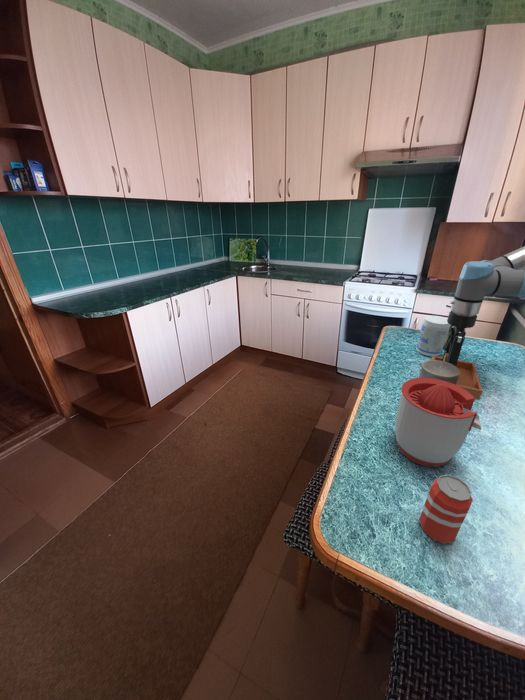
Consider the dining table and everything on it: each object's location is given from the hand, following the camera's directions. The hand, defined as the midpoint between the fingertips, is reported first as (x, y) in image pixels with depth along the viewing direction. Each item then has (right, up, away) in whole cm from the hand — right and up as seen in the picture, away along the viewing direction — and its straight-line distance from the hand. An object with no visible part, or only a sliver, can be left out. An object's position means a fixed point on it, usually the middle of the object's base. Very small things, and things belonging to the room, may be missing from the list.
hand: (444, 373), depth 102 cm
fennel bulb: (+15, +9, +23) cm, 29 cm away
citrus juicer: (-23, -17, -28) cm, 40 cm away
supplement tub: (+6, +7, +20) cm, 22 cm away
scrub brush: (0, -1, +1) cm, 2 cm away
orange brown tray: (+3, -2, +1) cm, 4 cm away
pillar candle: (-12, -9, -12) cm, 19 cm away
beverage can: (-30, -27, -46) cm, 61 cm away
